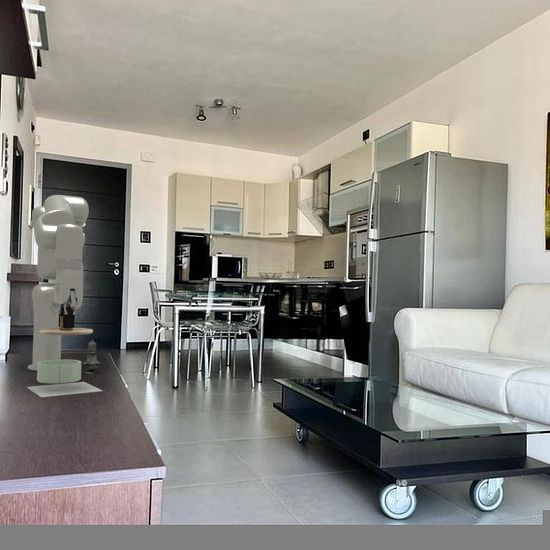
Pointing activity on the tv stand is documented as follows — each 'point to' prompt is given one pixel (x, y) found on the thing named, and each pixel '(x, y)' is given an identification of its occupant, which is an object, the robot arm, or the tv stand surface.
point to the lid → (65, 330)
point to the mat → (63, 389)
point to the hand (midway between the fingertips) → (66, 326)
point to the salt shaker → (91, 359)
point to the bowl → (58, 371)
